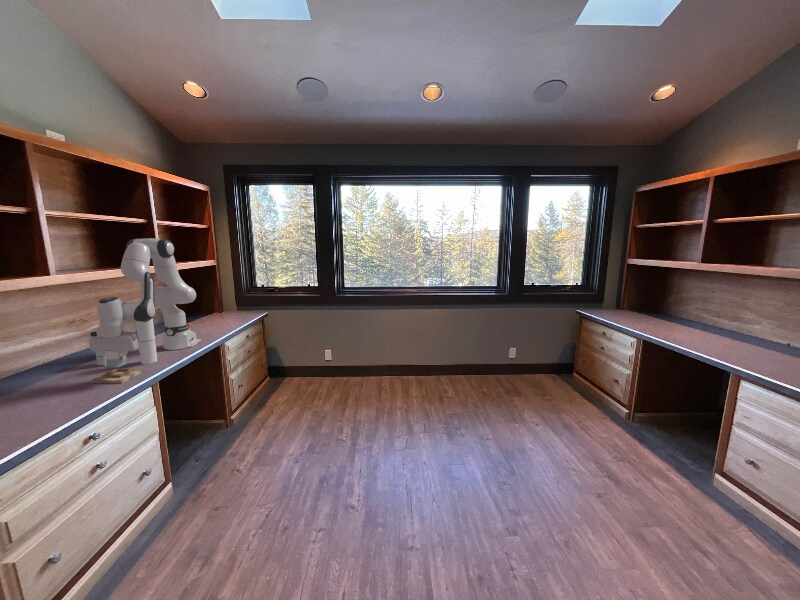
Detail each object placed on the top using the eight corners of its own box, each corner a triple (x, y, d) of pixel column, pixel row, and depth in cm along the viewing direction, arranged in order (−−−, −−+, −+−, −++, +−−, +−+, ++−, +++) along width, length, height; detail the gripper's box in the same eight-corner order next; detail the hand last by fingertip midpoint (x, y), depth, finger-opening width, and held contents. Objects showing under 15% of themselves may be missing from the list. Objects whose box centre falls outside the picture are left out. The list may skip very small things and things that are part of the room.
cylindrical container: (137, 364, 169) (132, 319, 165) (147, 359, 176) (142, 316, 172) (150, 364, 169) (145, 319, 165) (160, 359, 176) (155, 316, 172)
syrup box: (105, 366, 165) (101, 339, 163) (96, 365, 166) (93, 339, 164) (117, 362, 171) (113, 336, 169) (108, 361, 172) (105, 336, 170)
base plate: (116, 371, 158) (115, 366, 158) (144, 371, 159) (144, 366, 159) (90, 383, 145) (89, 377, 144) (121, 383, 145) (120, 377, 145)
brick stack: (116, 363, 153) (114, 348, 152) (126, 363, 153) (124, 348, 152) (107, 367, 148) (104, 351, 147) (117, 367, 148) (115, 351, 147)
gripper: (140, 330, 152) (143, 357, 154) (96, 329, 151) (100, 357, 153) (129, 333, 145) (133, 361, 148) (84, 333, 145) (88, 361, 147)
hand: (116, 359), depth 150 cm, fingers closed on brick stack, 5 cm apart
